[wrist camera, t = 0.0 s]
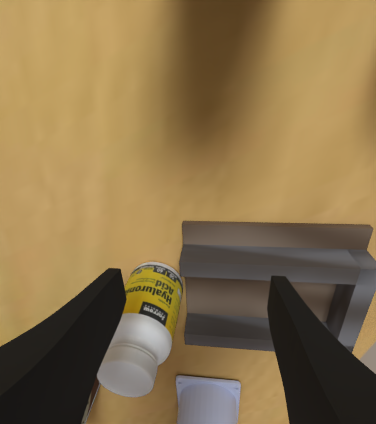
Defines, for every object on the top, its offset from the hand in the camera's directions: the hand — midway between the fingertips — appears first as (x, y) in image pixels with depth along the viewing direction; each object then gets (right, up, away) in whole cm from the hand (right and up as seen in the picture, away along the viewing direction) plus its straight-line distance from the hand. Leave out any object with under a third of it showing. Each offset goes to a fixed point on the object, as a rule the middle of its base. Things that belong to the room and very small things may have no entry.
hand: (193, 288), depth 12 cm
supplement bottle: (-3, -3, +14) cm, 15 cm away
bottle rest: (+7, -3, +12) cm, 15 cm away
